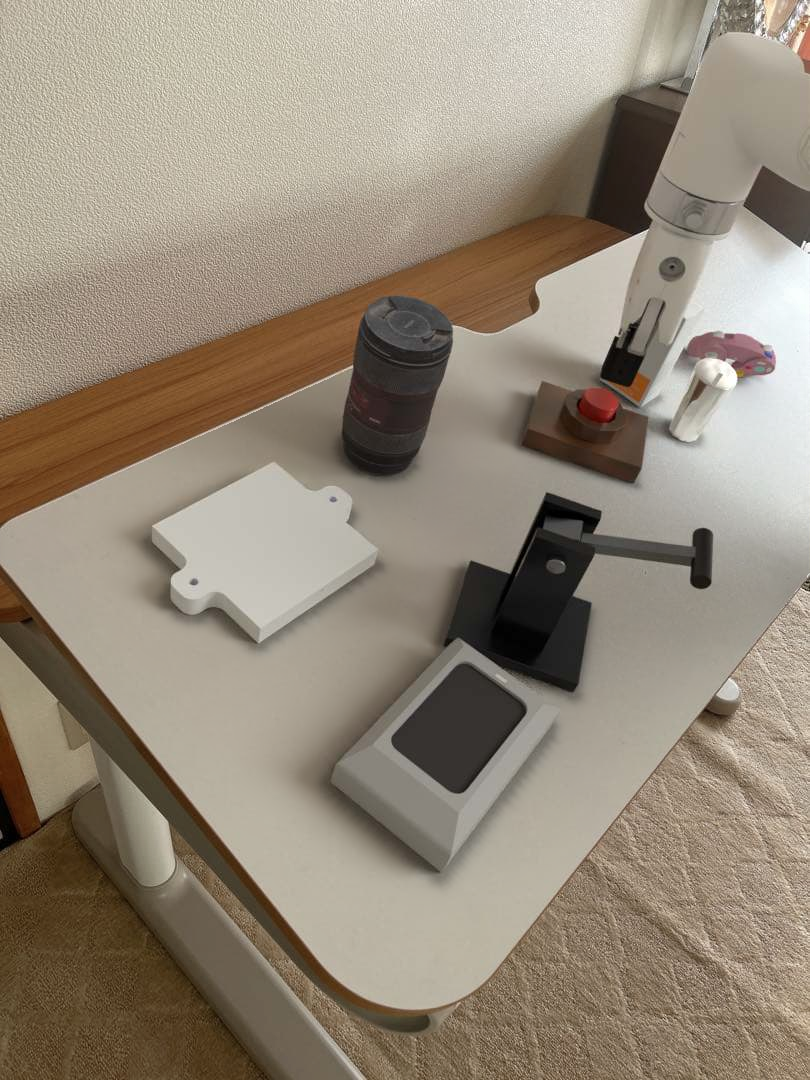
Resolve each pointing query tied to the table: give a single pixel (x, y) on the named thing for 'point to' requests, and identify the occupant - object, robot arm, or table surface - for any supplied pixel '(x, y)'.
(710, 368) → the milkshake
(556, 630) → the bracket
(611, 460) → the button block
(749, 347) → the video game controller
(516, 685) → the card reader
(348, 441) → the camera lens
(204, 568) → the mounting plate
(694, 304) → the cosmetic box
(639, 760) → the table surface
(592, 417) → the button
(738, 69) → the robot arm
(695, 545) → the lever
